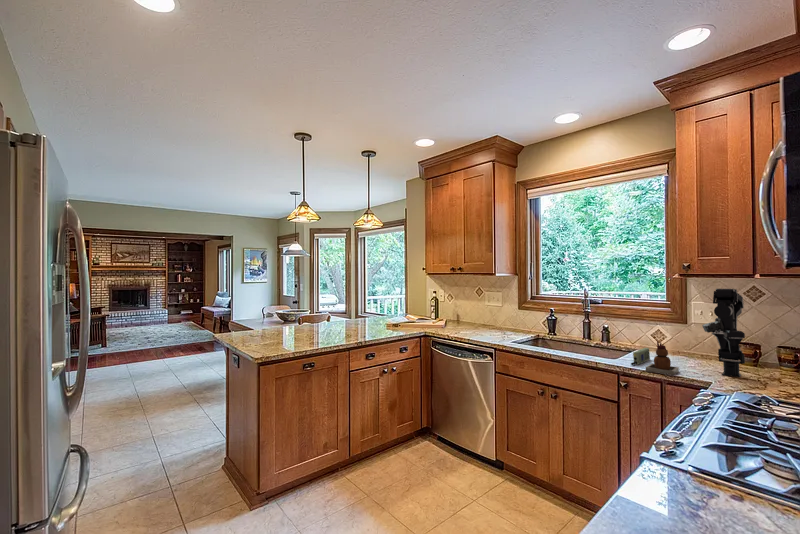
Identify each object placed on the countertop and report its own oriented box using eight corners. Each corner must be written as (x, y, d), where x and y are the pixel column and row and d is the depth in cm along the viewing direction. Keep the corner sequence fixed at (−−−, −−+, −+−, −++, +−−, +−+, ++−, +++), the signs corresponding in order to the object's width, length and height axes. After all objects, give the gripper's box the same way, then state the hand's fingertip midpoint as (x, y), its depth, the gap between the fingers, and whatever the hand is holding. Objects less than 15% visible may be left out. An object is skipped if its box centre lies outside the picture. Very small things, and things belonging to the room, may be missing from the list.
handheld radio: (651, 359, 218) (636, 367, 201) (644, 359, 220) (629, 366, 203) (650, 347, 218) (635, 354, 201) (643, 347, 220) (628, 353, 204)
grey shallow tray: (651, 367, 198) (651, 363, 198) (678, 371, 190) (678, 367, 190) (645, 371, 191) (645, 367, 191) (673, 375, 182) (673, 371, 182)
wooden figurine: (654, 372, 189) (653, 341, 190) (653, 369, 194) (652, 339, 195) (671, 373, 186) (670, 342, 186) (670, 370, 191) (668, 340, 191)
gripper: (696, 314, 185) (697, 346, 184) (713, 318, 167) (714, 354, 167) (724, 314, 181) (725, 347, 181) (744, 318, 164) (746, 355, 163)
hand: (727, 351), depth 173 cm, fingers open, 9 cm apart
